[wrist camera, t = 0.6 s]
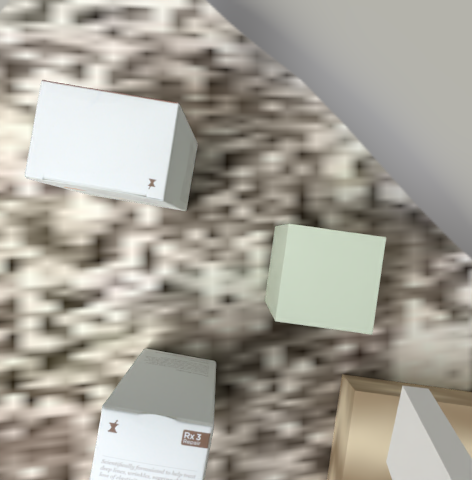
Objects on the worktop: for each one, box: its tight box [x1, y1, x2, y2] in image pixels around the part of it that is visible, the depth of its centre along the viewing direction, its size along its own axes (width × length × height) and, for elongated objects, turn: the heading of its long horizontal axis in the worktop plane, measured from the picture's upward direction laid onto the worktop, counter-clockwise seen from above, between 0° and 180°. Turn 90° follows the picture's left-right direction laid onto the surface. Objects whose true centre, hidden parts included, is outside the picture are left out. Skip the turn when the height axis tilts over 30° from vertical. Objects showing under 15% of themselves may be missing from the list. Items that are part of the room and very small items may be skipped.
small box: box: [25, 80, 198, 211], centre depth 28 cm, size 8×6×10 cm
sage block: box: [265, 224, 386, 334], centre depth 30 cm, size 6×6×8 cm
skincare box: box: [90, 349, 216, 480], centre depth 28 cm, size 6×4×12 cm
